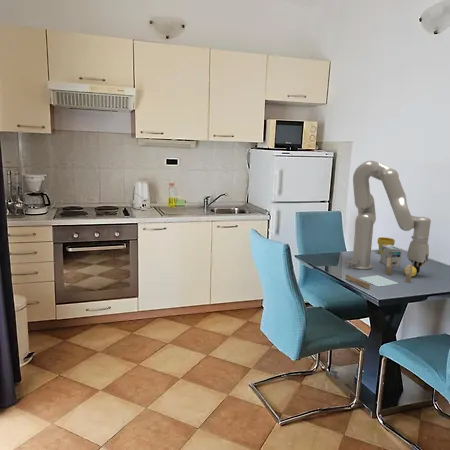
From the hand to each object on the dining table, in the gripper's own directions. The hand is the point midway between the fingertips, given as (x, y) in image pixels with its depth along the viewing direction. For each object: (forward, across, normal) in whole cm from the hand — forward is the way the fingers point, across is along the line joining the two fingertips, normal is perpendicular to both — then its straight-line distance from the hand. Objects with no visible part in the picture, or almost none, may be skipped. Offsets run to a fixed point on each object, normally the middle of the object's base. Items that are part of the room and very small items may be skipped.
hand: (415, 272), depth 226 cm
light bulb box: (+2, -21, +4) cm, 21 cm away
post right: (+1, +6, -14) cm, 15 cm away
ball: (-2, 0, -5) cm, 5 cm away
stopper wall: (+2, -1, -42) cm, 42 cm away
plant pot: (+2, -40, +21) cm, 45 cm away
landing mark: (+1, 0, -28) cm, 28 cm away
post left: (+1, -7, -14) cm, 15 cm away
